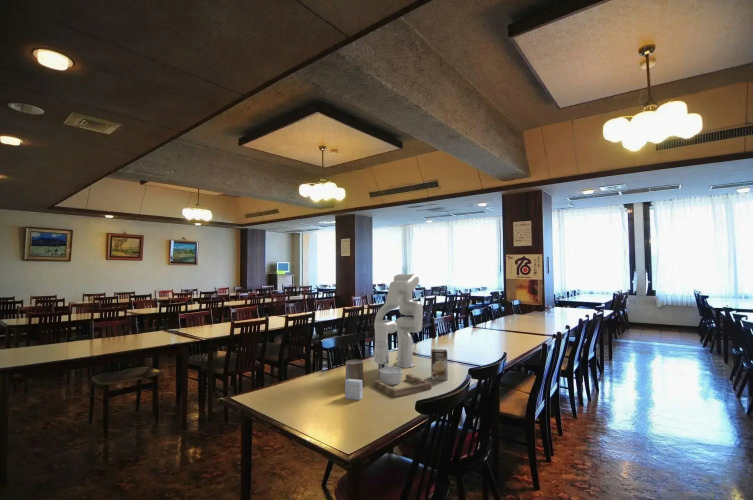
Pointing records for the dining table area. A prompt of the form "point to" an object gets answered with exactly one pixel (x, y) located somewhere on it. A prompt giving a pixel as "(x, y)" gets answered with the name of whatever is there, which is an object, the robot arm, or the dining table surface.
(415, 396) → the dining table surface
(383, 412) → the dining table surface
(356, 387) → the medicine box
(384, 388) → the display stand
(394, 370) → the ramekin
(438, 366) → the coffee box
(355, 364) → the pillar candle
